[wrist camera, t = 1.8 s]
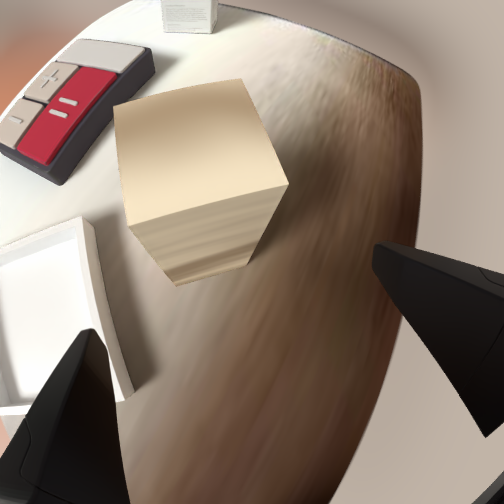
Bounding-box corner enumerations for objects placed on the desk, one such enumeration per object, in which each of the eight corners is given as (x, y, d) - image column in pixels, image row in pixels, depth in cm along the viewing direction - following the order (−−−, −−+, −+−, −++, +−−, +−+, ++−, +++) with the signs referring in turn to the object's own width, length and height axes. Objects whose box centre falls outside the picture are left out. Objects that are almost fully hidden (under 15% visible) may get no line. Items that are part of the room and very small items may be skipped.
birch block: (245, 266, 20) (288, 184, 9) (176, 286, 19) (128, 226, 8) (224, 202, 21) (241, 78, 10) (159, 220, 20) (113, 106, 9)
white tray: (134, 392, 17) (124, 400, 15) (13, 409, 15) (-4, 415, 12) (94, 227, 20) (81, 215, 17) (-15, 269, 17) (-32, 262, 15)
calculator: (-15, 138, 17) (77, 33, 20) (6, 158, 21) (87, 57, 24) (43, 170, 17) (152, 42, 20) (66, 192, 21) (157, 72, 25)
